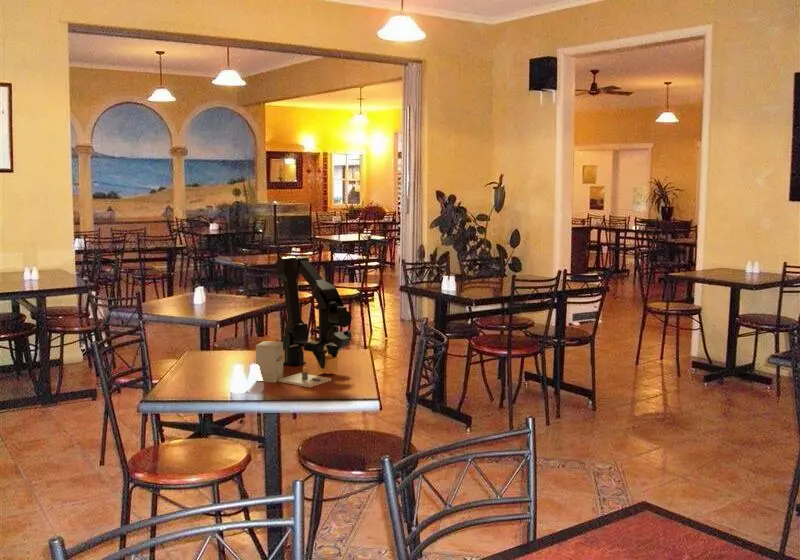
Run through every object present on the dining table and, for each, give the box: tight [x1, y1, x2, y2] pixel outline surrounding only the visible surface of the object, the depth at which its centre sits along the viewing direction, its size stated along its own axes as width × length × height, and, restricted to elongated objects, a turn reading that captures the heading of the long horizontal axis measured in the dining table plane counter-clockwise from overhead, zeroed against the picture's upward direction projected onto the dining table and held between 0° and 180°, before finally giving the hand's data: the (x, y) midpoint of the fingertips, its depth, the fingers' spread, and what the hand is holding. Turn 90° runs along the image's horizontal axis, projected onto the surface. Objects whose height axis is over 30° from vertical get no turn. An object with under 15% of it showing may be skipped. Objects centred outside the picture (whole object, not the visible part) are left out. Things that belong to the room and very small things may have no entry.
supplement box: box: [255, 340, 284, 383], centre depth 280 cm, size 7×7×13 cm
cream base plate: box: [277, 366, 332, 388], centre depth 279 cm, size 14×11×5 cm
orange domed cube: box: [316, 353, 339, 375], centre depth 288 cm, size 5×5×6 cm
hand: (327, 367), depth 288 cm, fingers closed on orange domed cube, 5 cm apart
